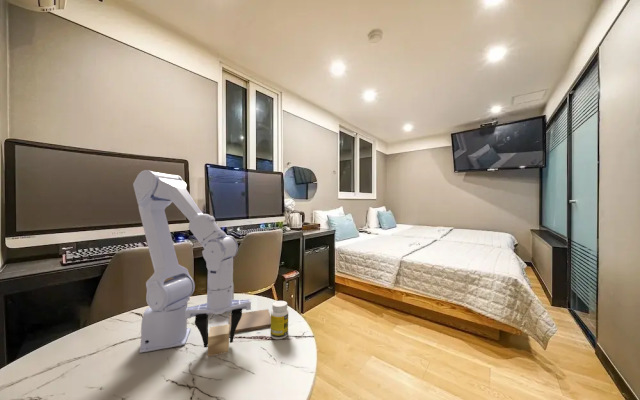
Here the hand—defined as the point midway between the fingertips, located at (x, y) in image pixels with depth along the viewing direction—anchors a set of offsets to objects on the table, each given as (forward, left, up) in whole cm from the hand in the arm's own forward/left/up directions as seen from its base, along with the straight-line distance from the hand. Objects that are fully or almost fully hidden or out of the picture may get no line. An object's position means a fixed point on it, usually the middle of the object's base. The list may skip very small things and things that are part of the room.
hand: (219, 342), depth 56 cm
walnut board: (+8, +11, -1) cm, 14 cm away
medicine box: (-1, +24, -2) cm, 24 cm away
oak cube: (0, 0, -2) cm, 2 cm away
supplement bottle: (+15, +1, -2) cm, 15 cm away
